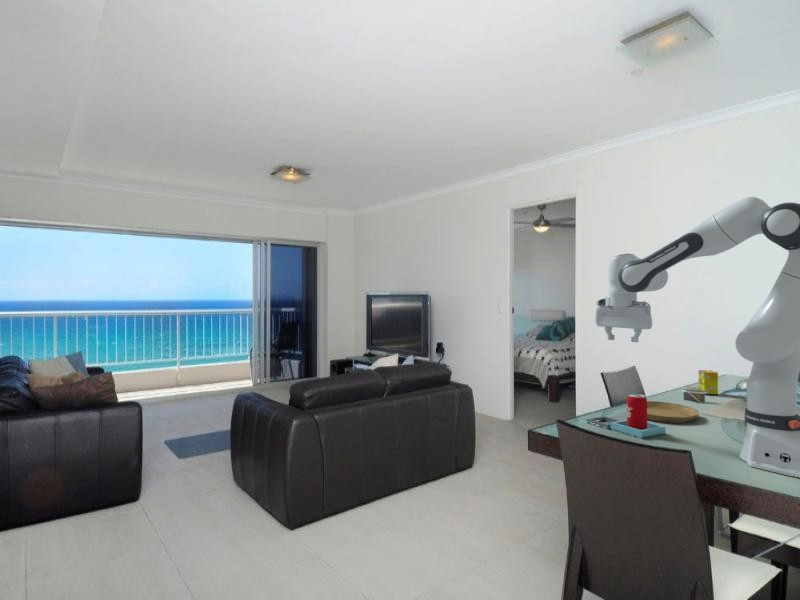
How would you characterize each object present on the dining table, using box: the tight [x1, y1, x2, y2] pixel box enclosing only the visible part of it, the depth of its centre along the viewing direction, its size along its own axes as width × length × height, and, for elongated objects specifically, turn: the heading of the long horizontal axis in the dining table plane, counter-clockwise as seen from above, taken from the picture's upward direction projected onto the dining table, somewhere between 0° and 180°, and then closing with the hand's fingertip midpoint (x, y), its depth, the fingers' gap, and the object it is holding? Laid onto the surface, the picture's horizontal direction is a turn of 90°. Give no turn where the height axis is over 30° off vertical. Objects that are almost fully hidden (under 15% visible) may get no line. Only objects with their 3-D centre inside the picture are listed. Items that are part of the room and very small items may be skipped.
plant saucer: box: [647, 400, 700, 424], centre depth 183 cm, size 24×24×3 cm
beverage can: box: [626, 393, 648, 430], centre depth 161 cm, size 6×6×12 cm
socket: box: [586, 415, 621, 428], centre depth 171 cm, size 9×9×2 cm
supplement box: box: [698, 369, 719, 397], centre depth 222 cm, size 6×6×11 cm
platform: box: [680, 386, 708, 403], centre depth 207 cm, size 12×18×7 cm, turn 59°
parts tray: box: [610, 419, 666, 439], centre depth 161 cm, size 12×12×2 cm
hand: (622, 341), depth 163 cm, fingers open, 8 cm apart
